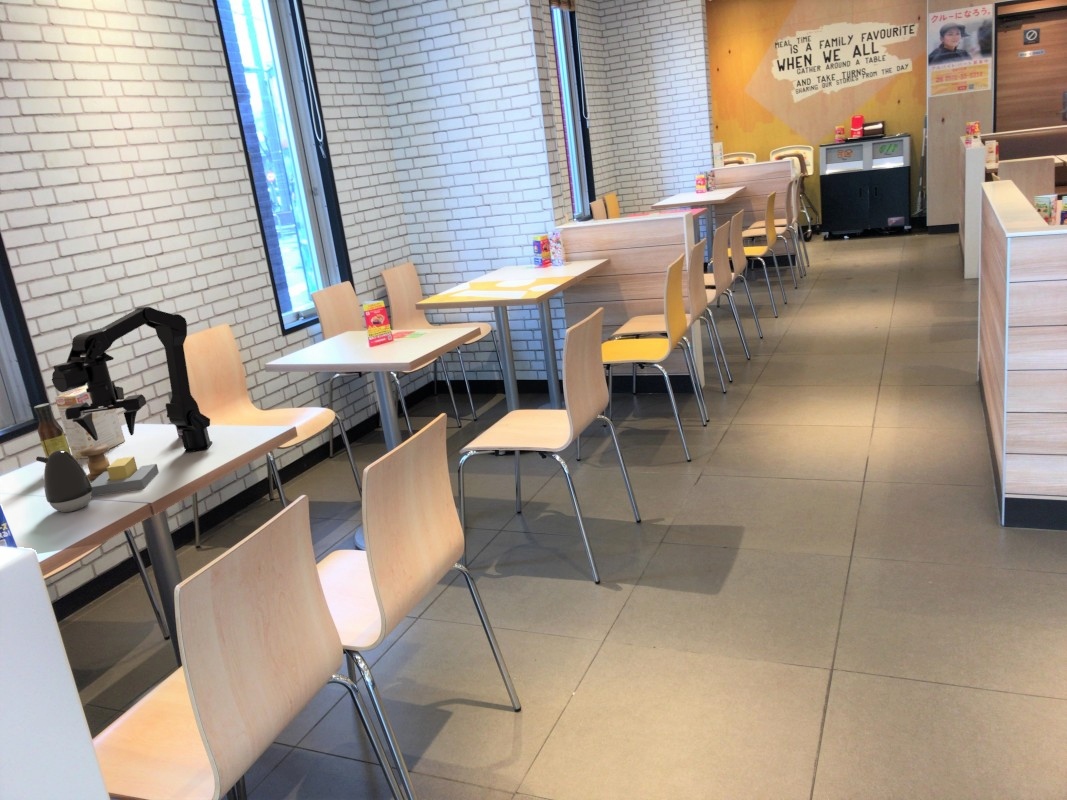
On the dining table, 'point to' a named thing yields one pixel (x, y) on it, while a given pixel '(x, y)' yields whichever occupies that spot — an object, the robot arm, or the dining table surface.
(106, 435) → the coffeecake box
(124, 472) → the tab
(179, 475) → the dining table surface
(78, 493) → the pump dispenser
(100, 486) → the gray u-shaped block
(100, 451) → the ball
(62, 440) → the sauce bottle
